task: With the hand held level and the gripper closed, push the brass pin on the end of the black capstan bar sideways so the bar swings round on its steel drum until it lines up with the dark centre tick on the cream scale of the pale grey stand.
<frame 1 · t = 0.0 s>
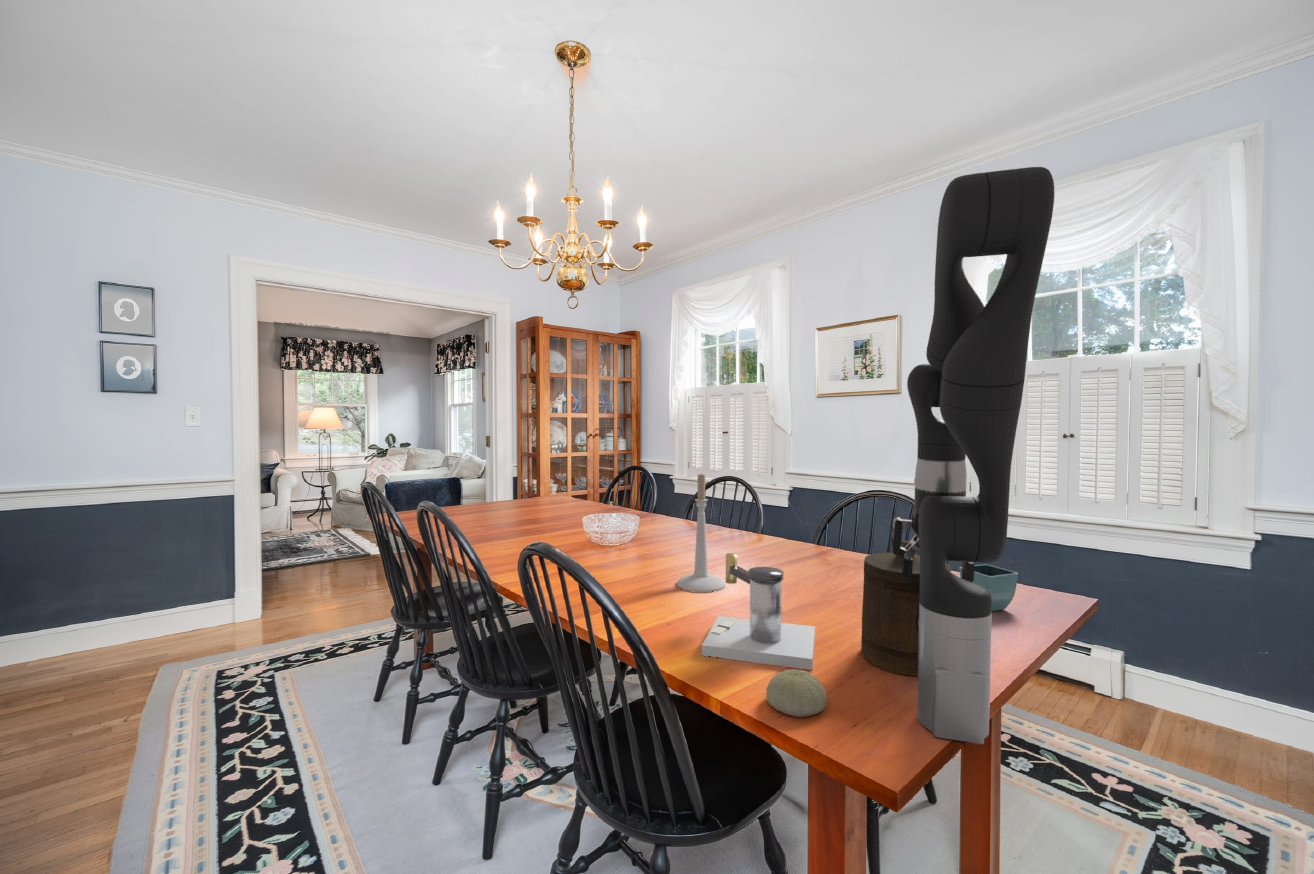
hand: (937, 581, 93), 17 cm above the table, tool pointing down, fingers open, 8 cm apart
sea urchin shell: (796, 706, 87), on the table
wooden container: (903, 659, 103), on the table
flower pot: (987, 608, 131), on the table
capstan: (750, 594, 113), point 9 cm above the table, hinge at -36.0°
stand: (765, 648, 108), on the table
candlestick: (701, 585, 149), on the table
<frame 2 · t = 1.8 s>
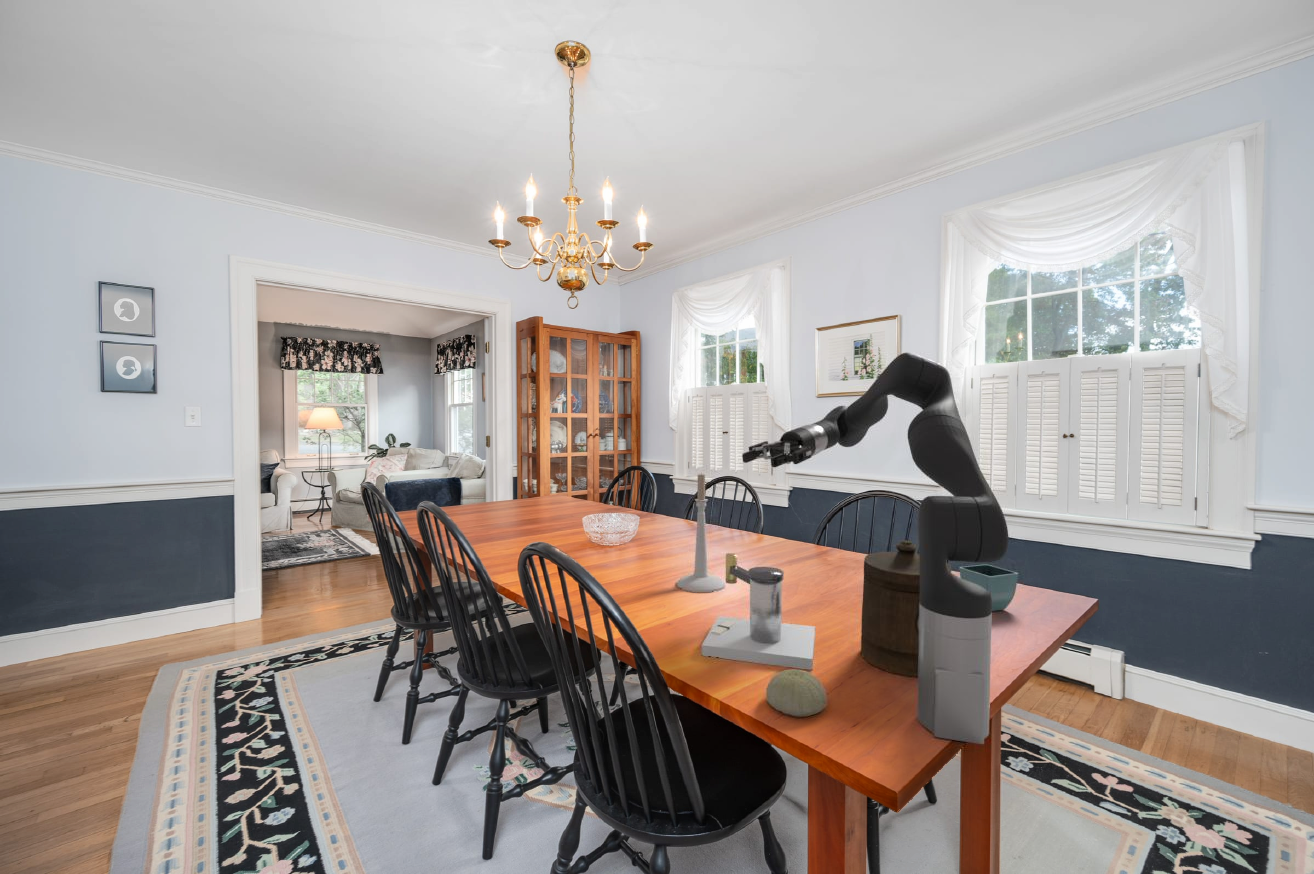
hand: (757, 460, 124), 35 cm above the table, tool horizontal, fingers open, 8 cm apart
nothing on the table moved.
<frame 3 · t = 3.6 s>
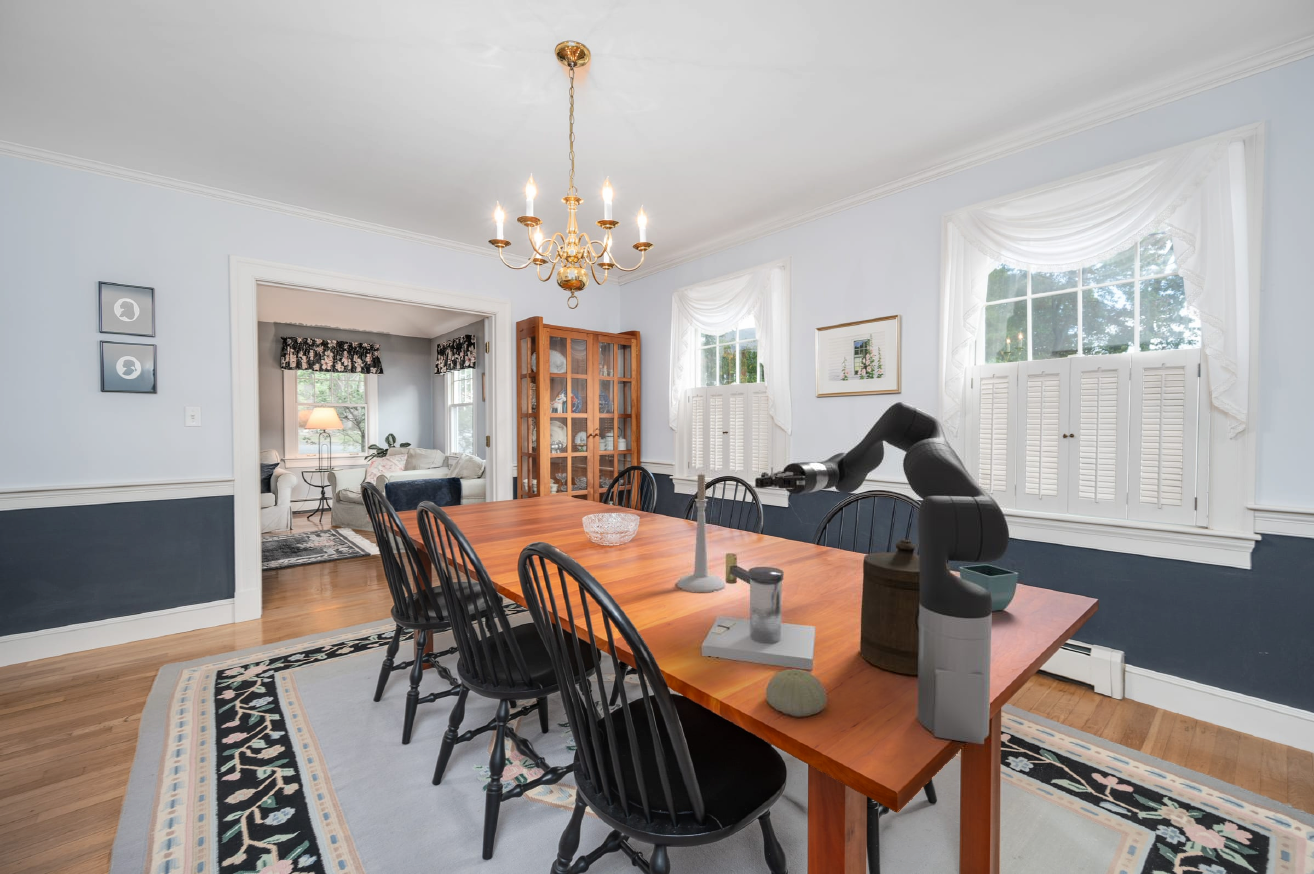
hand: (757, 483, 126), 30 cm above the table, tool horizontal, fingers closed
nothing on the table moved.
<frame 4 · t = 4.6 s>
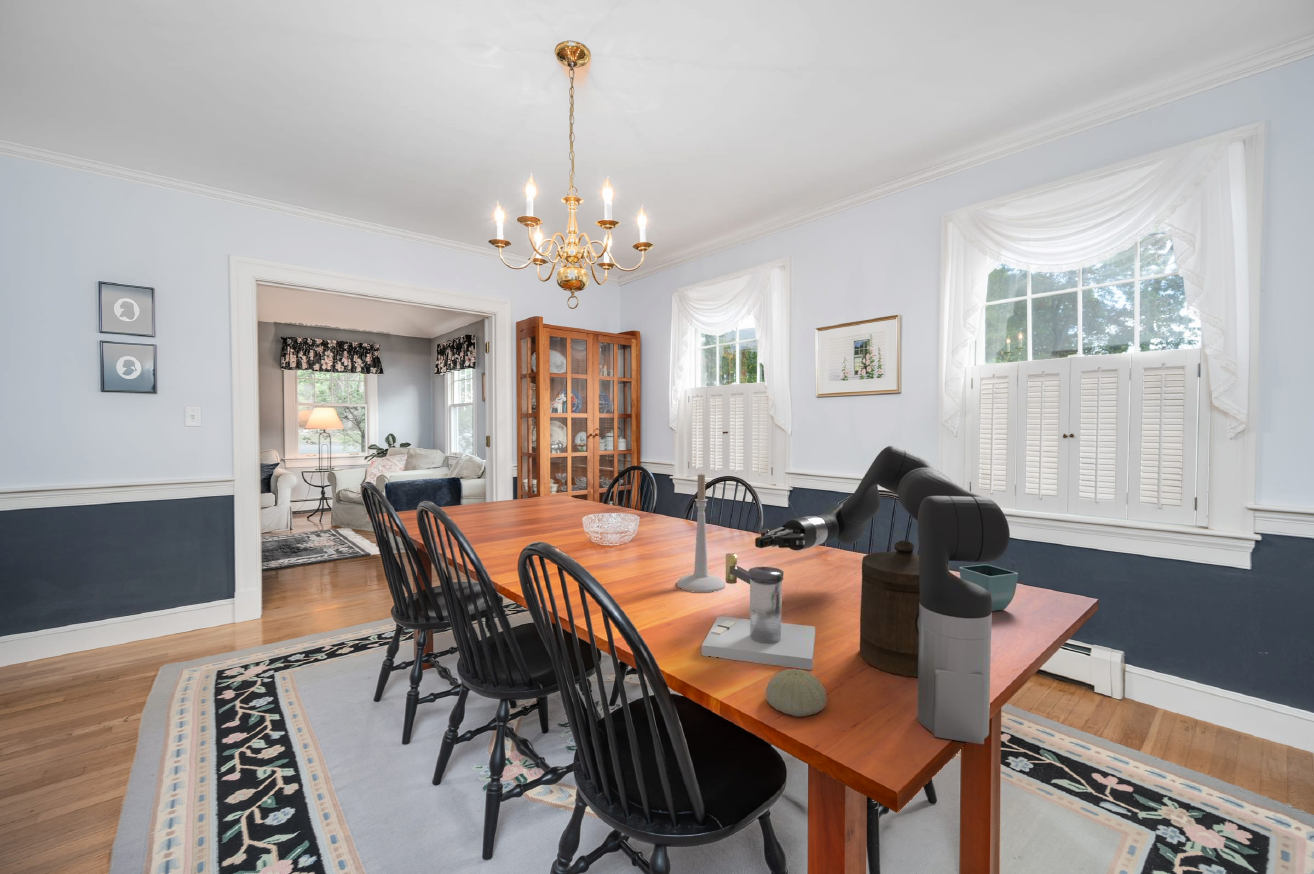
hand: (757, 543, 127), 16 cm above the table, tool horizontal, fingers closed
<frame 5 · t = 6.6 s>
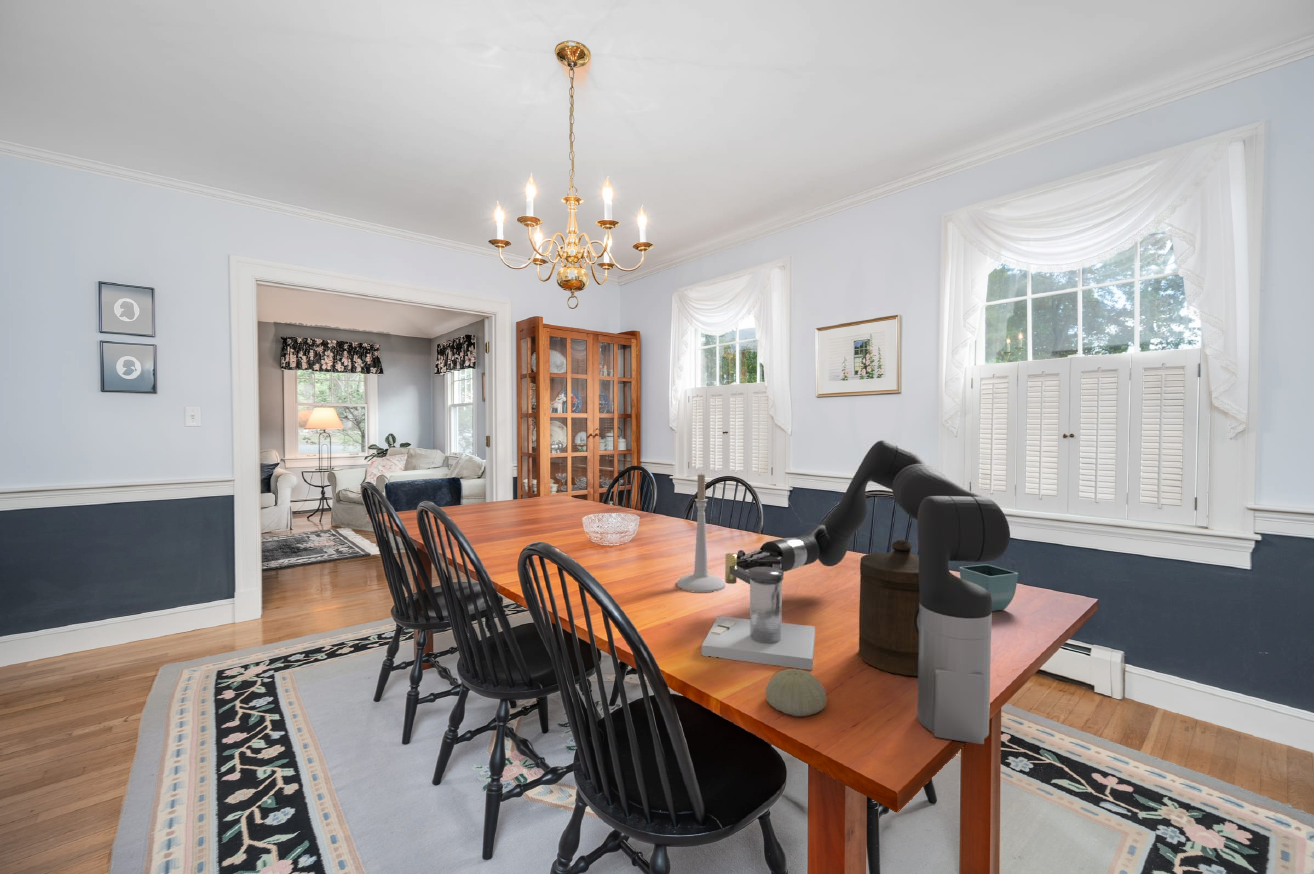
hand: (732, 567, 122), 12 cm above the table, tool horizontal, fingers closed
capstan: (749, 594, 113), point 9 cm above the table, hinge at -35.7°, touching gripper
everything else where it was.
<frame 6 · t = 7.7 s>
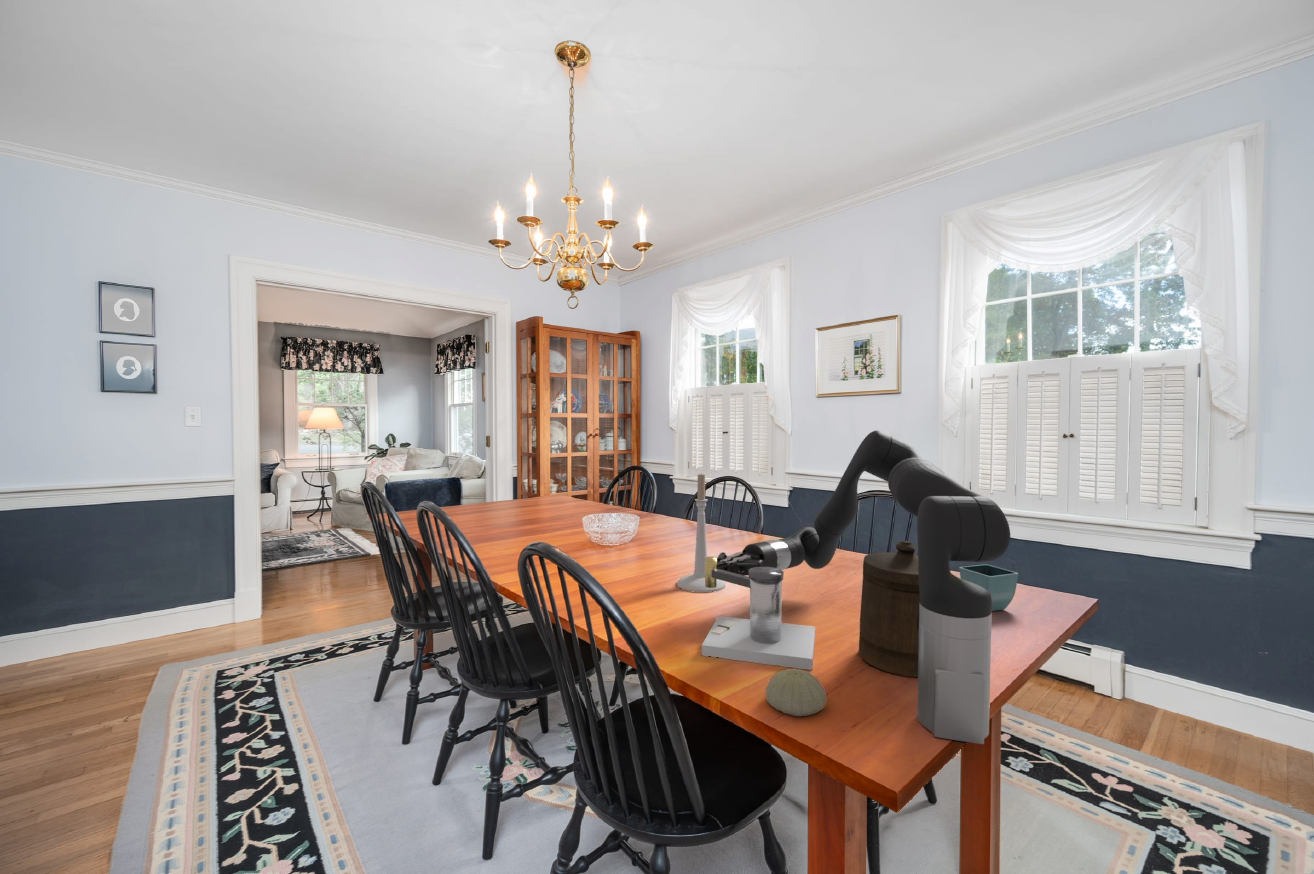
hand: (710, 570, 119), 12 cm above the table, tool horizontal, fingers closed
capstan: (741, 596, 112), point 9 cm above the table, hinge at -13.2°, touching gripper
everything else where it was.
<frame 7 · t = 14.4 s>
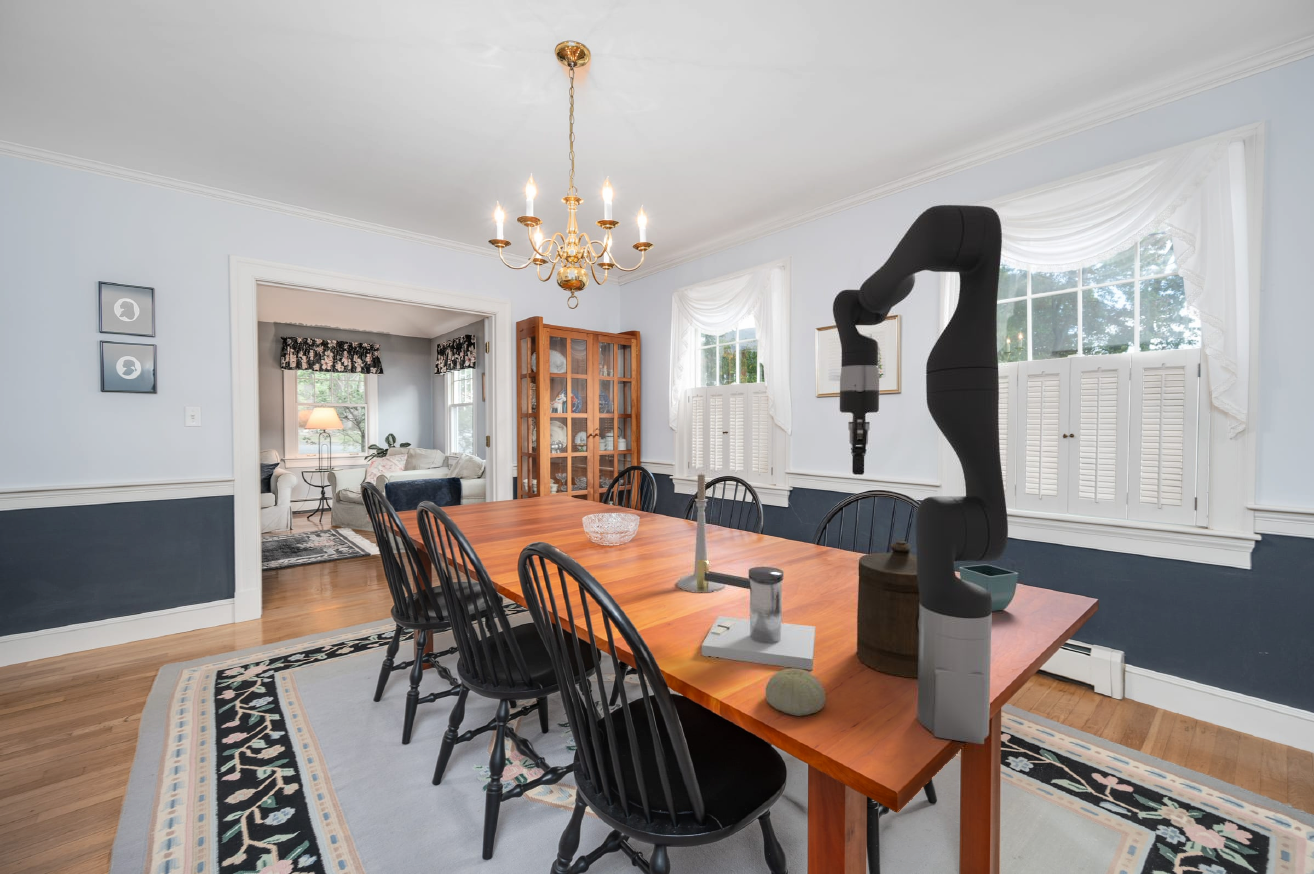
hand: (858, 474, 114), 33 cm above the table, tool pointing down, fingers closed
capstan: (737, 597, 111), point 9 cm above the table, hinge at -1.3°
at the end: capstan at -1° (first picture: -36°) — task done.
